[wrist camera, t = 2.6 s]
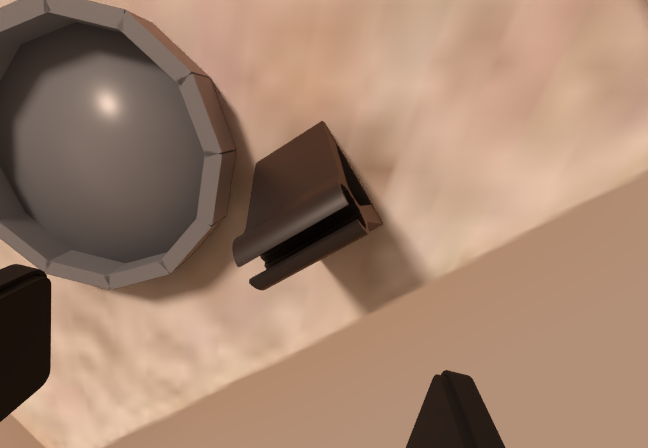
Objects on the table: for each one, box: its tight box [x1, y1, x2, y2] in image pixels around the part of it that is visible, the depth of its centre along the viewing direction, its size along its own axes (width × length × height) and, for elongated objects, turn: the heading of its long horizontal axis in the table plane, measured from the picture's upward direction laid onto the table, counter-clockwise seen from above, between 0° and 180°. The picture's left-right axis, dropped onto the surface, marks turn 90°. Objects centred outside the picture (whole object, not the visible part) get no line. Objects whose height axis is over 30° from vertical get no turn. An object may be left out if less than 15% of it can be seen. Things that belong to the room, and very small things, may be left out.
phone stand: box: [233, 121, 383, 290], centre depth 22 cm, size 9×6×12 cm, turn 31°
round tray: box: [0, 0, 236, 290], centre depth 26 cm, size 20×20×3 cm
